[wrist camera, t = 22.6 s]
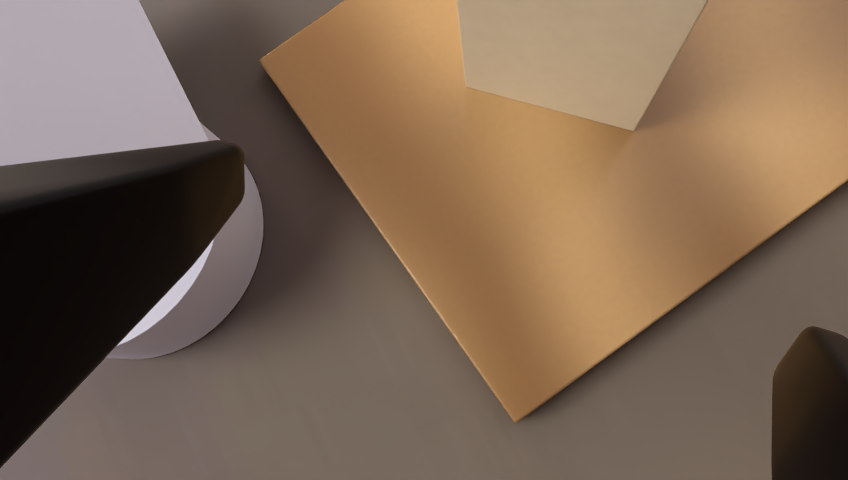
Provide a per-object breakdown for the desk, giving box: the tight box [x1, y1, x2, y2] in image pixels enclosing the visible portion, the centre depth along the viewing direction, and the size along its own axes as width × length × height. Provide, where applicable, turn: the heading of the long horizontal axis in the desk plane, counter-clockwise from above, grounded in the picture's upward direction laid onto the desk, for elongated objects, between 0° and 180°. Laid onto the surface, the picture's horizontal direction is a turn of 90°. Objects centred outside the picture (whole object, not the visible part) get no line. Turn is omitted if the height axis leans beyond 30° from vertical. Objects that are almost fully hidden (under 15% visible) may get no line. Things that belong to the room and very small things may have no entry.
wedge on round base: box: [0, 0, 263, 359], centre depth 19 cm, size 9×7×13 cm
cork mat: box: [260, 0, 848, 423], centre depth 21 cm, size 20×16×1 cm
